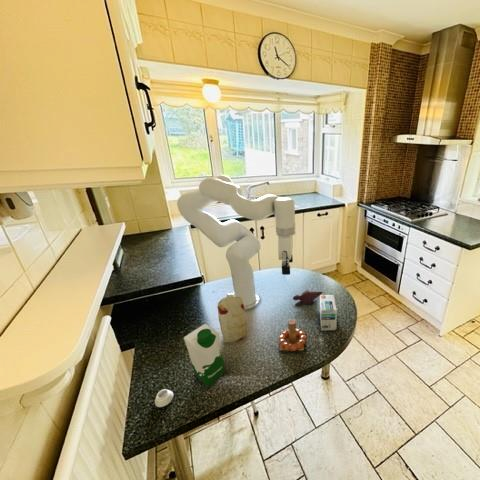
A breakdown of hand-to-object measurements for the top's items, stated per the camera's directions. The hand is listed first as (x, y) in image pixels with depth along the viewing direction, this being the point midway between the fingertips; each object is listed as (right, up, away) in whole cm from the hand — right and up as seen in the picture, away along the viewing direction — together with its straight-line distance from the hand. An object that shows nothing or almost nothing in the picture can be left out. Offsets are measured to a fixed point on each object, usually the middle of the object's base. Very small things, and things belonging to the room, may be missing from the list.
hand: (287, 267), depth 106 cm
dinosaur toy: (+8, -19, +17) cm, 27 cm away
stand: (+3, -29, -5) cm, 30 cm away
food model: (-20, -28, -3) cm, 35 cm away
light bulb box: (+17, -24, +6) cm, 30 cm away
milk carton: (-24, -35, -18) cm, 46 cm away
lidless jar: (-35, -39, -26) cm, 59 cm away
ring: (+3, -27, -7) cm, 28 cm away
